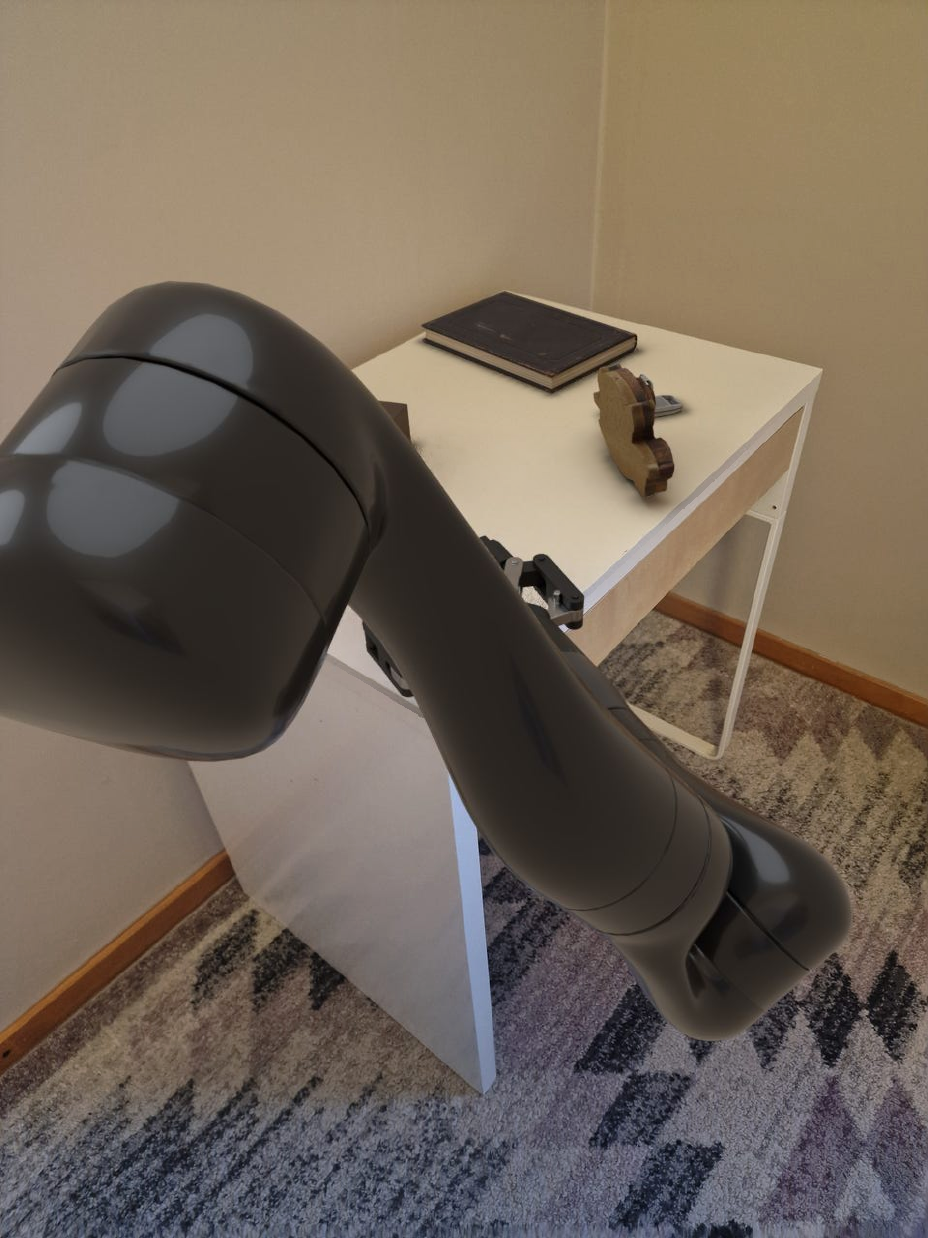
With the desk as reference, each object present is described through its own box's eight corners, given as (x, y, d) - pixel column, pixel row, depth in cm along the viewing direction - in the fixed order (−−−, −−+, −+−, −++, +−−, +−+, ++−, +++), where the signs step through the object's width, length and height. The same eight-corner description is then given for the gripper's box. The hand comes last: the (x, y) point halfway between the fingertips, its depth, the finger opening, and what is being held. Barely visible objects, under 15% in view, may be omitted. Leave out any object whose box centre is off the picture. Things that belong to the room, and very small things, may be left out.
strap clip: (670, 400, 97) (674, 365, 94) (683, 412, 95) (688, 376, 92) (601, 414, 96) (603, 378, 93) (613, 426, 93) (615, 390, 91)
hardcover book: (551, 393, 100) (551, 375, 98) (422, 341, 113) (421, 324, 112) (637, 349, 108) (638, 331, 106) (507, 305, 121) (507, 289, 119)
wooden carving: (688, 506, 81) (701, 410, 74) (643, 516, 80) (653, 419, 74) (616, 428, 93) (622, 339, 86) (577, 435, 92) (580, 346, 86)
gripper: (648, 617, 51) (511, 492, 62) (436, 706, 46) (328, 553, 57) (638, 703, 56) (512, 573, 67) (444, 791, 51) (344, 636, 62)
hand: (428, 564), depth 62 cm, fingers open, 8 cm apart
